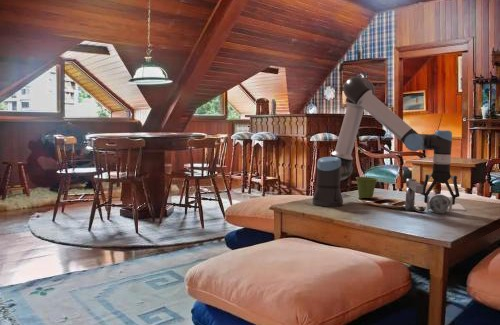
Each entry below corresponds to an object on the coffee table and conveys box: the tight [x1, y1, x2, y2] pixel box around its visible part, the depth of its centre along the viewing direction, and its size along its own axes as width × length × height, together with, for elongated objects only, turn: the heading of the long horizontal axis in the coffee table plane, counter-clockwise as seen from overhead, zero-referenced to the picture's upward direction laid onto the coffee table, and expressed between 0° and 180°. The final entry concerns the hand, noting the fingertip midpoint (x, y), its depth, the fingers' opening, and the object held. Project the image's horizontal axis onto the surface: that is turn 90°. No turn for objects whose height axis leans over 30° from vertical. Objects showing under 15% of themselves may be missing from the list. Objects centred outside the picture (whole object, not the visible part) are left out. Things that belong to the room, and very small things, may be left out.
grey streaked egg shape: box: [429, 193, 450, 215], centre depth 212 cm, size 14×10×10 cm
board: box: [414, 200, 466, 212], centre depth 227 cm, size 22×17×1 cm
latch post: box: [404, 186, 416, 212], centre depth 215 cm, size 4×4×11 cm
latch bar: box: [405, 178, 423, 194], centre depth 205 cm, size 24×4×4 cm, turn 169°
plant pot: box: [355, 176, 379, 199], centre depth 248 cm, size 12×12×11 cm
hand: (438, 210), depth 212 cm, fingers closed on grey streaked egg shape, 9 cm apart
